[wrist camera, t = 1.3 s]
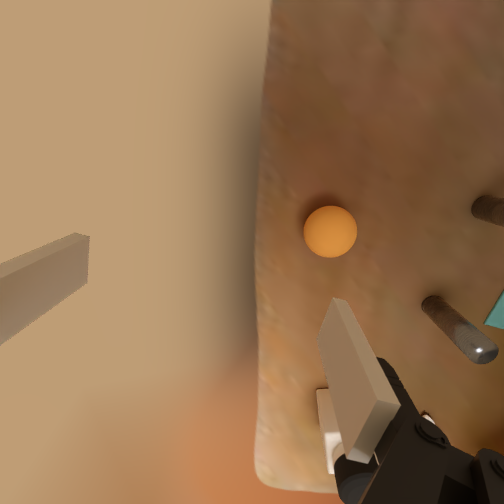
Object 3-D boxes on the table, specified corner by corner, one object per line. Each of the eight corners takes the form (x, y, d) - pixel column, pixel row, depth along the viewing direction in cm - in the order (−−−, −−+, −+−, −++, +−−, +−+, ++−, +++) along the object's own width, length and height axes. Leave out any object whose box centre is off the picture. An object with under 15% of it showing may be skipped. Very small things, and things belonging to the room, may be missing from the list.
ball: (356, 208, 32) (372, 219, 27) (339, 253, 34) (352, 270, 29) (309, 196, 32) (316, 204, 27) (295, 241, 34) (299, 257, 29)
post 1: (447, 298, 35) (503, 345, 27) (437, 316, 36) (489, 366, 27) (427, 293, 35) (477, 338, 27) (418, 311, 36) (463, 360, 27)
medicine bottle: (319, 425, 43) (336, 522, 32) (315, 388, 41) (332, 478, 30) (368, 422, 42) (403, 520, 31) (366, 384, 40) (404, 475, 29)
